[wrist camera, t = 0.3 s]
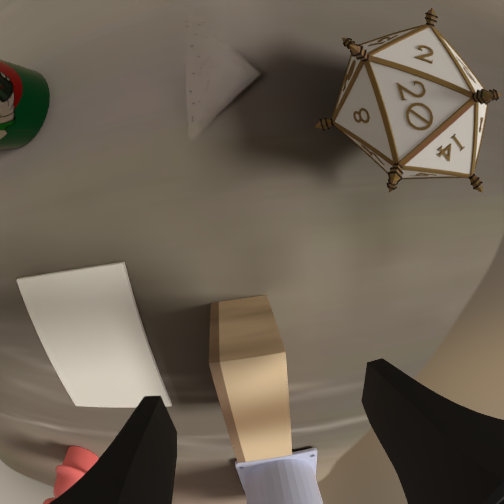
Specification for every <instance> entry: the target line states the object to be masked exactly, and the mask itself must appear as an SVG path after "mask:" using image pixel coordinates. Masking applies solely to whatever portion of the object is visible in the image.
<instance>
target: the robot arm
mask: <svg viewBox="0 0 504 504" xmlns="http://www.w3.org/2000/svg"><path fill="white" fill-rule="evenodd" d="M362 404H363V406H364V409H365V412H366V414H367V417H368V419H369V422H370V424H371V426H372V428H373V430H374V432H375V433H376V435H377V437H378V439H379V441H380V443H381V444H382V446H383V448H384V449H385V451H386V453H387V455H388V457H389V459H390V461H391V462H392V464H393V466H394V468H395V470H396V472H397V474H398V477H399V479H400V482H401V485H402V487H403V490H404V493H405V496H406V498H407V502H408V504H504V420H501V419H497V418H494V417H490V416H487V415H484V414H481V413H478V412H475V411H473V410H470V409H468V408H465V407H463V406H461V405H458V404H456V403H454V402H452V401H450V400H448V399H446V398H444V397H443V396H441V395H439V394H437V393H435V392H434V391H432V390H430V389H428V388H427V387H425V386H424V385H422V384H420V383H419V382H417V381H416V380H414V379H413V378H411V377H410V376H408V375H407V374H405V373H404V372H402V371H401V370H399V369H398V368H396V367H395V366H393V365H392V364H390V363H389V362H387V361H386V360H384V359H383V358H382V359H378V360H375V361H371V362H367V368H366V375H365V382H364V389H363V395H362ZM176 459H177V431H176V429H175V427H174V424H173V422H172V420H171V418H170V416H169V413H168V411H167V409H166V407H165V404H164V402H163V400H162V397H161V396H144V397H143V399H142V400H141V402H140V403H139V405H138V406H137V408H136V409H135V411H134V412H133V414H132V415H131V416H130V418H129V419H128V421H127V422H126V424H125V425H124V427H123V428H122V430H121V431H120V432H119V434H118V435H117V436H116V438H115V439H114V441H113V442H112V443H111V445H110V446H109V447H108V448H107V450H106V451H105V452H104V453H103V454H102V456H101V457H100V458H99V459H98V461H97V462H96V463H95V464H94V465H93V466H92V467H91V468H90V469H89V470H88V471H87V472H86V473H85V474H84V475H83V476H82V477H81V478H80V479H79V480H78V481H77V482H76V483H75V484H74V485H72V486H71V487H70V488H69V489H68V490H66V491H65V492H64V493H63V494H62V495H60V496H59V497H58V498H56V499H55V500H53V501H52V502H50V503H49V504H171V503H172V494H173V485H174V477H175V468H176ZM316 462H317V450H316V448H310V449H306V450H301V451H296V452H292V455H288V456H282V457H276V458H270V459H264V460H257V461H249V462H241V463H238V461H236V462H235V467H236V469H237V472H238V475H239V478H240V481H241V483H242V486H243V489H244V491H245V494H246V500H247V504H323V502H322V498H321V495H320V492H319V489H318V485H317V481H316V478H315V475H316Z"/></svg>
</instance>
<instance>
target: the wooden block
mask: <svg viewBox="0 0 504 504" xmlns="http://www.w3.org/2000/svg"><path fill="white" fill-rule="evenodd" d="M209 366H210V370H211V374H212V377H213V381H214V385H215V388H216V392H217V395H218V399H219V403H220V406H221V409H222V413H223V416H224V420H225V423H226V426H227V430H228V433H229V436H230V439H231V443H232V446H233V449H234V452H235V455H236V458H237V461H238V463H241V462H249V461H257V460H264V459H270V458H276V457H282V456H288V455H292V444H291V426H290V410H289V394H288V380H287V366H286V352H285V349H284V346H283V343H282V340H281V337H280V334H279V331H278V328H277V324H276V321H275V318H274V315H273V312H272V309H271V306H270V303H269V300H268V297H267V295H263V296H256V297H250V298H243V299H236V300H229V301H222V302H215V303H211V310H210V338H209Z"/></svg>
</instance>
